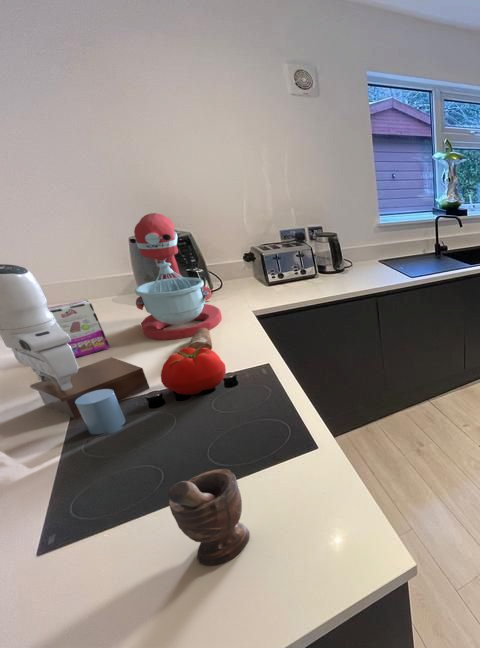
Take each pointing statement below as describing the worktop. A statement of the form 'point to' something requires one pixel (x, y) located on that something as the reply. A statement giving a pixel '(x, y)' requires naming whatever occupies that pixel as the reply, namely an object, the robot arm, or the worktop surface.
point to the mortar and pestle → (210, 515)
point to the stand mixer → (170, 285)
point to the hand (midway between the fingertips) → (56, 384)
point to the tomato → (192, 371)
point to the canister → (101, 412)
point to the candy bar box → (81, 327)
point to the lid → (87, 378)
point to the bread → (201, 339)
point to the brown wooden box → (120, 388)
